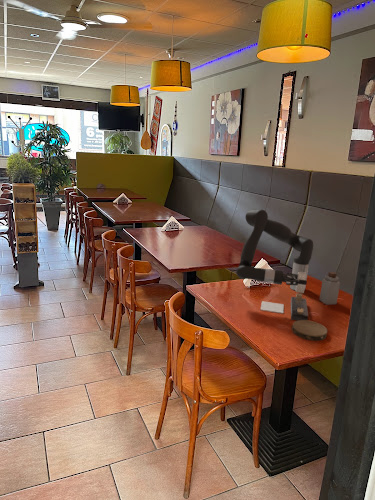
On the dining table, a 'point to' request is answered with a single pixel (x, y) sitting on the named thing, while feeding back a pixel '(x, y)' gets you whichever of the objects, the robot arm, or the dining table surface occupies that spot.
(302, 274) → the lever cap
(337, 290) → the perfume bottle
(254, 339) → the dining table surface
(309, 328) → the brown round disc
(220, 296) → the dining table surface
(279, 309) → the rubber mat
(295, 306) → the hand plane
